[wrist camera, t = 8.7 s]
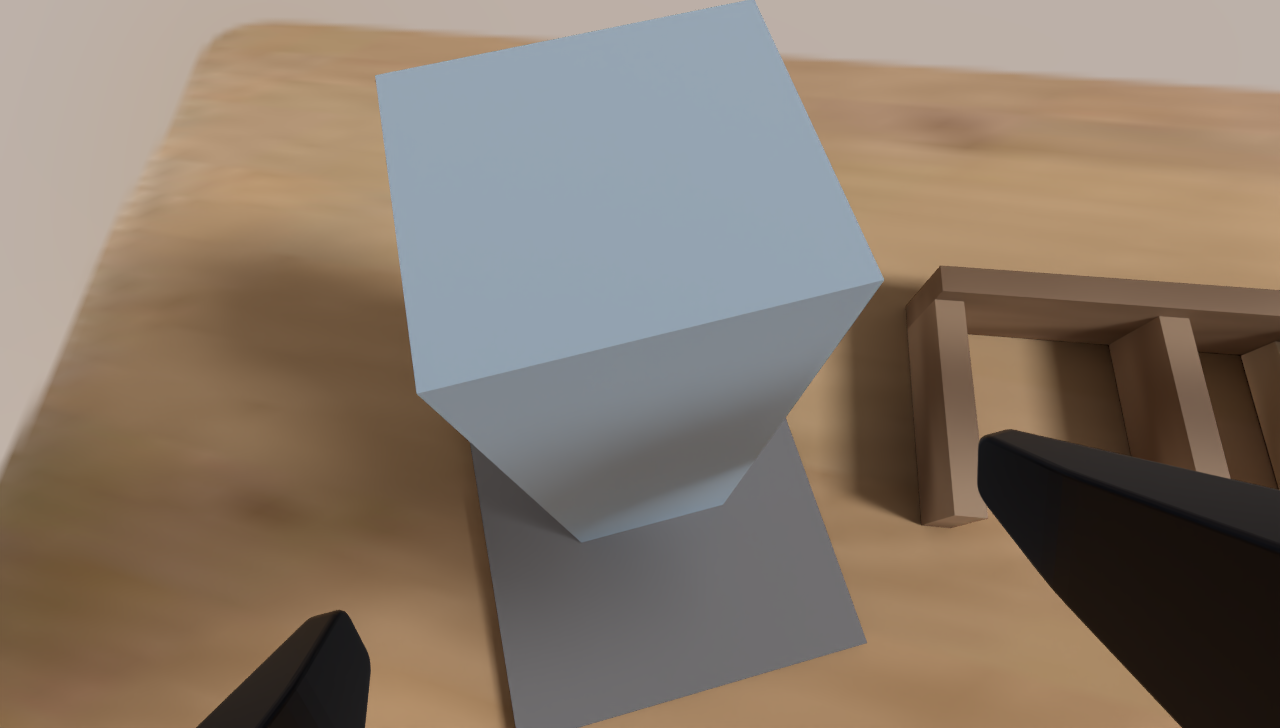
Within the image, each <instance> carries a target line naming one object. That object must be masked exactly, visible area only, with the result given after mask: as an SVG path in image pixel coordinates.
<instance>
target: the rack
mask: <svg viewBox="0 0 1280 728" xmlns="http://www.w3.org/2000/svg"><path fill="white" fill-rule="evenodd" d="M906 317H907V331H908V345H909V359H910V373H911V387H912V401H913V415H914V429H915V443H916V457H917V471H918V485H919V499H920V513H921V525H924V526H935V527H946V528H953V527H957V526H960V525H964V524H968V523H972V522H976V521H980V520H984V519H988V514H987V505H986V504H985V503H984V501H983V500H982V498H981V496H980V494H979V491H978V487H977V465H978V443H979V433H978V424H977V415H976V406H975V397H974V388H973V379H972V370H971V360H970V351H969V342H968V334H976V335H989V336H1002V337H1015V338H1028V339H1041V340H1053V341H1066V342H1079V343H1092V344H1105V345H1109V348H1110V353H1111V358H1112V363H1113V368H1114V373H1115V378H1116V383H1117V387H1118V392H1119V397H1120V402H1121V407H1122V412H1123V417H1124V422H1125V427H1126V432H1127V437H1128V442H1129V447H1130V452H1131V456H1132V457H1136V458H1141V459H1145V460H1150V461H1154V462H1158V463H1163V464H1167V465H1172V466H1176V467H1180V468H1185V469H1189V470H1194V471H1198V472H1203V473H1207V474H1211V475H1216V476H1220V477H1225V478H1229V479H1231V478H1230V474H1229V470H1228V467H1227V463H1226V459H1225V455H1224V451H1223V447H1222V443H1221V440H1220V436H1219V432H1218V428H1217V424H1216V420H1215V416H1214V413H1213V409H1212V405H1211V401H1210V397H1209V393H1208V389H1207V386H1206V382H1205V378H1204V374H1203V370H1202V366H1201V362H1200V358H1199V355H1198V352H1208V353H1220V354H1233V355H1244V354H1246V353H1249V352H1251V351H1253V350H1256V349H1258V348H1261V347H1263V346H1265V345H1268V344H1270V343H1272V342H1275V341H1277V342H1280V290H1269V289H1256V288H1242V287H1228V286H1214V285H1201V284H1187V283H1173V282H1159V281H1145V280H1132V279H1118V278H1104V277H1090V276H1076V275H1063V274H1049V273H1035V272H1021V271H1008V270H994V269H980V268H966V267H952V266H940V267H939V268H938V269H937V270H936V271H935V273H934V274H933V275H932V276H931V277H930V278H929V280H928V281H927V282H926V283H925V284H924V285H923V287H922V288H921V289H920V290H919V291H918V293H917V294H916V295H915V296H914V297H913V298H912V300H911V301H910V302H909V303H908V304H907V305H906Z"/></svg>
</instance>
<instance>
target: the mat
mask: <svg viewBox="0 0 1280 728" xmlns="http://www.w3.org/2000/svg"><path fill="white" fill-rule="evenodd" d="M470 446H471V452H472V458H473V464H474V471H475V477H476V483H477V489H478V496H479V502H480V508H481V514H482V521H483V527H484V533H485V539H486V545H487V552H488V558H489V564H490V570H491V577H492V583H493V589H494V595H495V602H496V608H497V614H498V620H499V627H500V633H501V639H502V645H503V651H504V658H505V664H506V670H507V676H508V683H509V689H510V695H511V701H512V708H513V714H514V720H515V726H516V728H579V727H582V726H585V725H589V724H592V723H596V722H599V721H602V720H606V719H609V718H613V717H616V716H620V715H623V714H626V713H630V712H633V711H637V710H640V709H643V708H647V707H650V706H654V705H657V704H660V703H664V702H667V701H671V700H674V699H678V698H681V697H684V696H688V695H691V694H695V693H698V692H701V691H705V690H708V689H712V688H715V687H718V686H722V685H725V684H729V683H732V682H735V681H739V680H742V679H746V678H749V677H753V676H756V675H759V674H763V673H766V672H770V671H773V670H776V669H780V668H783V667H787V666H790V665H793V664H797V663H800V662H804V661H807V660H811V659H814V658H817V657H821V656H824V655H828V654H831V653H834V652H838V651H841V650H845V649H848V648H851V647H855V646H858V645H862V644H865V643H867V641H866V638H865V636H864V633H863V630H862V627H861V625H860V622H859V619H858V616H857V613H856V611H855V608H854V605H853V602H852V600H851V597H850V594H849V591H848V589H847V586H846V583H845V580H844V578H843V575H842V572H841V569H840V567H839V564H838V561H837V558H836V556H835V553H834V550H833V547H832V544H831V542H830V539H829V536H828V533H827V531H826V528H825V525H824V522H823V520H822V517H821V514H820V511H819V509H818V506H817V503H816V500H815V498H814V495H813V492H812V489H811V487H810V484H809V481H808V478H807V476H806V473H805V470H804V467H803V464H802V462H801V459H800V456H799V453H798V451H797V448H796V445H795V442H794V440H793V437H792V434H791V431H790V429H789V426H788V423H787V420H786V418H785V419H784V420H783V422H782V423H781V425H780V426H779V427H778V429H777V430H776V432H775V433H774V434H773V436H772V437H771V438H770V440H769V441H768V443H767V444H766V445H765V447H764V448H763V450H762V451H761V452H760V454H759V455H758V457H757V458H756V459H755V461H754V462H753V464H752V465H751V466H750V468H749V469H748V471H747V472H746V473H745V475H744V476H743V477H742V479H741V480H740V482H739V483H738V484H737V486H736V487H735V489H734V490H733V491H732V493H731V494H730V496H729V497H728V498H727V500H726V501H725V503H724V504H723V505H720V506H716V507H712V508H709V509H705V510H701V511H697V512H694V513H690V514H686V515H683V516H679V517H675V518H671V519H668V520H664V521H660V522H656V523H653V524H649V525H645V526H641V527H638V528H634V529H630V530H627V531H623V532H619V533H615V534H612V535H608V536H604V537H600V538H597V539H593V540H589V541H586V542H582V543H581V542H580V541H579V540H578V539H577V538H576V537H575V536H574V535H572V534H571V533H570V532H569V531H568V530H567V529H566V528H565V527H564V526H562V525H561V524H560V523H559V522H558V521H557V520H556V519H555V518H554V517H552V516H551V515H550V514H549V513H548V512H547V511H546V510H545V509H544V508H543V507H541V506H540V505H539V504H538V503H537V502H536V501H535V500H534V499H533V498H531V497H530V496H529V495H528V494H527V493H526V492H525V491H524V490H523V489H521V488H520V487H519V486H518V485H517V484H516V483H515V482H514V481H513V480H511V479H510V478H509V477H508V476H507V475H506V474H505V473H504V472H503V471H502V470H500V469H499V468H498V467H497V466H496V465H495V464H494V463H493V462H492V461H490V460H489V459H488V458H487V457H486V456H485V455H484V454H483V453H482V452H480V451H479V450H478V449H477V448H476V447H475V446H474V445H473V444H472V443H471V442H470Z"/></svg>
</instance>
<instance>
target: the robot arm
mask: <svg viewBox="0 0 1280 728" xmlns="http://www.w3.org/2000/svg"><path fill="white" fill-rule="evenodd" d="M977 487H978V491H979V494H980V496H981V498H982V500H983V501H984V503H985V504H986V505H987V507H988V508H989V509H990V510H991V512H992V513H993V514H994V516H995V517H996V518H997V519H998V521H999V522H1000V523H1001V525H1002V526H1003V527H1004V528H1005V530H1006V531H1007V532H1008V534H1009V535H1010V536H1011V537H1012V539H1013V540H1014V541H1015V543H1016V544H1017V545H1018V546H1019V548H1020V549H1021V550H1022V552H1023V553H1024V554H1025V556H1026V557H1027V558H1028V559H1029V561H1030V562H1031V563H1032V565H1033V566H1034V567H1035V568H1036V570H1037V571H1038V572H1039V574H1040V575H1041V576H1042V577H1043V578H1044V580H1045V581H1046V582H1047V583H1048V584H1049V586H1050V587H1051V588H1052V589H1053V590H1054V592H1055V593H1056V594H1057V595H1058V596H1059V597H1060V598H1061V599H1062V600H1063V602H1064V603H1065V604H1066V605H1067V606H1068V607H1069V608H1070V609H1071V610H1072V611H1073V612H1074V613H1075V614H1076V616H1077V617H1078V618H1079V619H1080V620H1081V621H1082V622H1083V623H1084V624H1085V625H1086V626H1087V627H1088V628H1089V629H1090V630H1091V632H1092V633H1093V634H1094V635H1095V636H1096V637H1097V638H1098V639H1099V640H1100V641H1101V642H1102V643H1103V644H1104V645H1105V646H1106V647H1107V649H1108V650H1109V651H1110V652H1111V653H1112V654H1113V655H1114V656H1115V657H1116V658H1117V659H1118V660H1119V661H1120V662H1121V663H1122V664H1123V666H1124V667H1125V668H1126V669H1127V670H1128V671H1129V672H1130V673H1131V674H1132V675H1133V676H1134V677H1135V678H1136V679H1137V680H1138V682H1139V683H1140V684H1141V685H1142V686H1143V687H1144V688H1145V689H1146V690H1147V691H1148V692H1149V693H1150V694H1151V695H1152V696H1153V697H1154V699H1155V700H1156V701H1157V702H1158V703H1159V704H1160V705H1161V706H1162V707H1163V708H1164V709H1165V710H1166V711H1167V712H1168V713H1169V714H1170V716H1171V717H1172V718H1173V719H1174V720H1175V721H1176V722H1177V723H1178V724H1179V725H1180V726H1181V727H1182V728H1280V490H1278V489H1273V488H1269V487H1264V486H1260V485H1256V484H1251V483H1247V482H1242V481H1238V480H1233V479H1229V478H1225V477H1220V476H1216V475H1211V474H1207V473H1203V472H1198V471H1194V470H1189V469H1185V468H1180V467H1176V466H1172V465H1167V464H1163V463H1158V462H1154V461H1150V460H1145V459H1141V458H1136V457H1132V456H1127V455H1123V454H1119V453H1114V452H1110V451H1105V450H1101V449H1096V448H1092V447H1088V446H1083V445H1079V444H1074V443H1070V442H1066V441H1061V440H1057V439H1052V438H1048V437H1043V436H1039V435H1035V434H1030V433H1026V432H1021V431H1017V430H1012V429H1009V430H1003V431H999V432H996V433H992V434H988V435H985V436H983V437H982V438H981V439H980V441H979V443H978V465H977ZM370 672H371V667H370V659H369V655H368V652H367V650H366V648H365V646H364V644H363V642H362V640H361V638H360V636H359V634H358V632H357V630H356V629H355V627H354V625H353V623H352V621H351V619H350V617H349V616H348V614H347V613H346V612H345V611H342V610H336V611H332V612H328V613H324V614H321V615H317V616H314V617H311V618H309V619H308V620H307V621H306V622H305V623H304V624H302V625H301V626H300V627H299V628H298V629H297V630H296V631H295V632H294V633H293V634H292V635H291V636H290V637H289V638H288V639H287V640H286V641H285V642H284V643H283V644H282V645H281V646H280V647H279V648H278V649H277V650H276V651H275V652H274V653H273V654H272V655H271V656H270V657H268V658H267V659H266V660H265V661H264V662H263V663H262V664H261V665H260V666H259V667H258V668H257V669H256V670H255V671H254V672H253V673H252V674H251V675H250V676H249V677H248V678H247V679H246V680H245V681H244V682H243V683H242V684H241V685H240V686H239V687H238V688H237V689H236V690H234V691H233V692H232V693H231V694H230V695H229V696H228V697H227V698H226V699H225V700H224V701H223V702H222V703H221V704H220V705H219V706H218V707H217V708H216V709H215V710H214V711H213V712H212V713H211V714H210V715H209V716H208V717H207V718H206V719H205V720H204V721H203V722H202V723H200V724H199V725H198V726H197V727H196V728H365V722H366V712H367V703H368V693H369V683H370Z"/></svg>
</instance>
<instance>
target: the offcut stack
mask: <svg viewBox="0 0 1280 728" xmlns="http://www.w3.org/2000/svg"><path fill="white" fill-rule="evenodd" d="M1241 358H1242V362H1243V365H1244V369H1245V372H1246V376H1247V379H1248V383H1249V386H1250V390H1251V393H1252V397H1253V400H1254V404H1255V407H1256V411H1257V414H1258V418H1259V421H1260V425H1261V428H1262V432H1263V435H1264V439H1265V442H1266V446H1267V449H1268V453H1269V456H1270V460H1271V463H1272V467H1273V470H1274V474H1275V477H1276V481H1277V484H1278V488H1279V490H1280V342H1277V341H1275V342H1272V343H1270V344H1268V345H1265V346H1263V347H1261V348H1258V349H1256V350H1253V351H1251V352H1249V353H1246V354H1244V355H1242V356H1241Z"/></svg>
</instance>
